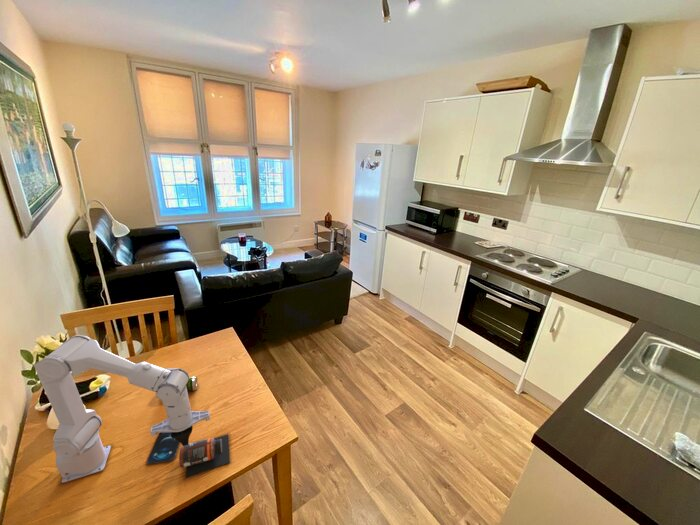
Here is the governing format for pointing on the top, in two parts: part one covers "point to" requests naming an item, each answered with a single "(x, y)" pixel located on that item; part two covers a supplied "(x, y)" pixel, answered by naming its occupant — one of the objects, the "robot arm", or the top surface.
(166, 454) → the smartphone
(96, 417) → the robot arm
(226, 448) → the mat
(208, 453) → the supplement bottle
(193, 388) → the beer can
